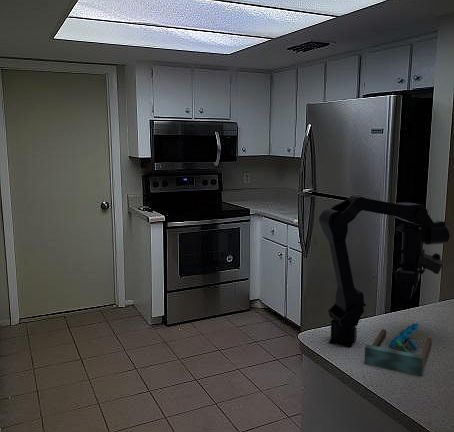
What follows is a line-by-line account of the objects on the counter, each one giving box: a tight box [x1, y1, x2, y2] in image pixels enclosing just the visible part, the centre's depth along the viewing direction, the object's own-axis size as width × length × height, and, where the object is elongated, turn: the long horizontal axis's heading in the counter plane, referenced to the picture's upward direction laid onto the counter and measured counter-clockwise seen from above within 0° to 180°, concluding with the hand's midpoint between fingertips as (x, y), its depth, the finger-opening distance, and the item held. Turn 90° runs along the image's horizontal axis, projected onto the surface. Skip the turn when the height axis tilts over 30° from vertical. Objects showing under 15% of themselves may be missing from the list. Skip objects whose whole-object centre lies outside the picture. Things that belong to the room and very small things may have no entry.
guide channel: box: [363, 328, 433, 377], centre depth 126 cm, size 14×22×4 cm, turn 150°
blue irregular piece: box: [388, 322, 420, 353], centre depth 129 cm, size 11×6×10 cm
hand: (410, 296), depth 138 cm, fingers open, 8 cm apart
